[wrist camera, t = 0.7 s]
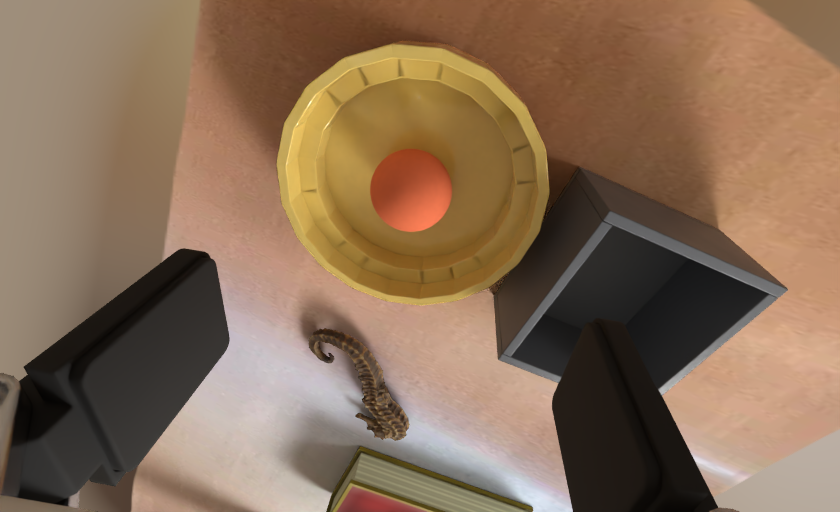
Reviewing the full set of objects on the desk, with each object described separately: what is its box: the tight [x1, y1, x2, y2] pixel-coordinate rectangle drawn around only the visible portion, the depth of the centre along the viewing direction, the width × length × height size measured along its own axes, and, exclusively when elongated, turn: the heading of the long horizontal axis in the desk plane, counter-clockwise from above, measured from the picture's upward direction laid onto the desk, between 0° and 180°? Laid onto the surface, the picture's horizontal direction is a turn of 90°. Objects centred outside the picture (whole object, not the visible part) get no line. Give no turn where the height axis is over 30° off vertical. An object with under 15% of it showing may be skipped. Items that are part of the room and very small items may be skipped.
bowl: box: [276, 40, 550, 305], centre depth 24 cm, size 15×15×4 cm
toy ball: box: [370, 149, 452, 232], centre depth 23 cm, size 5×5×5 cm
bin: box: [494, 167, 788, 395], centre depth 24 cm, size 11×10×6 cm
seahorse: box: [309, 328, 409, 441], centre depth 36 cm, size 6×15×2 cm, turn 22°
